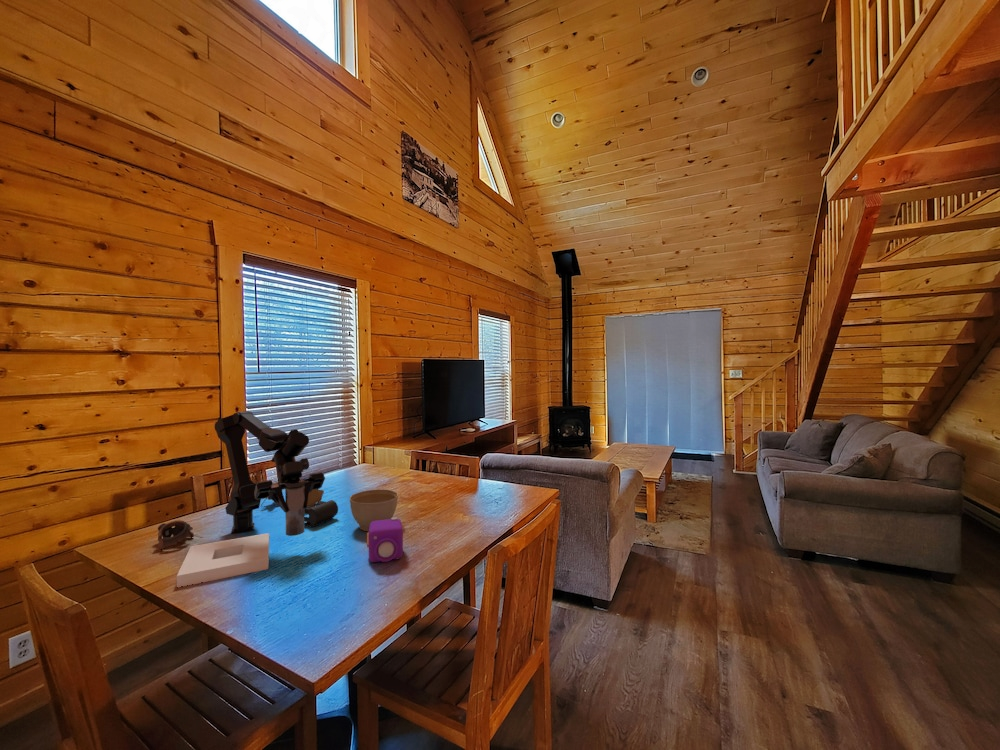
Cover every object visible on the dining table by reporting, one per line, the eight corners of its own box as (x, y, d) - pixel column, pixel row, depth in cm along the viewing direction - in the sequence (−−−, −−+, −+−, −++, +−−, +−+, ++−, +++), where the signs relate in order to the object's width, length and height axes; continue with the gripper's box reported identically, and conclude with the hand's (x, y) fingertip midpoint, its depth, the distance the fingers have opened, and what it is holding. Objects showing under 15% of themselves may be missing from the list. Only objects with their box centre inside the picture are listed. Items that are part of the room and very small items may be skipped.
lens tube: (284, 530, 123) (284, 481, 123) (304, 527, 126) (304, 478, 125) (285, 537, 118) (284, 485, 118) (305, 533, 121) (305, 483, 121)
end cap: (317, 528, 141) (316, 509, 141) (301, 526, 144) (301, 506, 144) (338, 519, 151) (338, 500, 151) (323, 516, 153) (323, 498, 153)
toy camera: (371, 572, 111) (371, 535, 110) (363, 552, 123) (362, 519, 123) (411, 563, 116) (410, 528, 115) (399, 545, 128) (399, 513, 128)
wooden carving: (314, 501, 171) (314, 477, 171) (324, 501, 170) (324, 478, 170) (288, 515, 155) (288, 488, 155) (300, 515, 154) (299, 489, 154)
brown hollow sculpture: (204, 539, 134) (198, 522, 130) (176, 563, 126) (169, 546, 122) (174, 527, 136) (167, 510, 132) (145, 550, 128) (137, 533, 124)
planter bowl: (361, 540, 131) (361, 506, 131) (342, 526, 144) (342, 495, 144) (406, 527, 142) (406, 496, 142) (385, 515, 154) (385, 486, 154)
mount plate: (191, 556, 120) (191, 546, 120) (269, 542, 130) (269, 532, 130) (176, 587, 103) (176, 575, 103) (268, 568, 113) (268, 558, 113)
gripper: (255, 454, 119) (264, 501, 110) (322, 446, 131) (335, 488, 123) (250, 476, 125) (258, 522, 116) (315, 467, 137) (326, 508, 129)
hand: (296, 509), depth 121 cm, fingers closed on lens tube, 5 cm apart
